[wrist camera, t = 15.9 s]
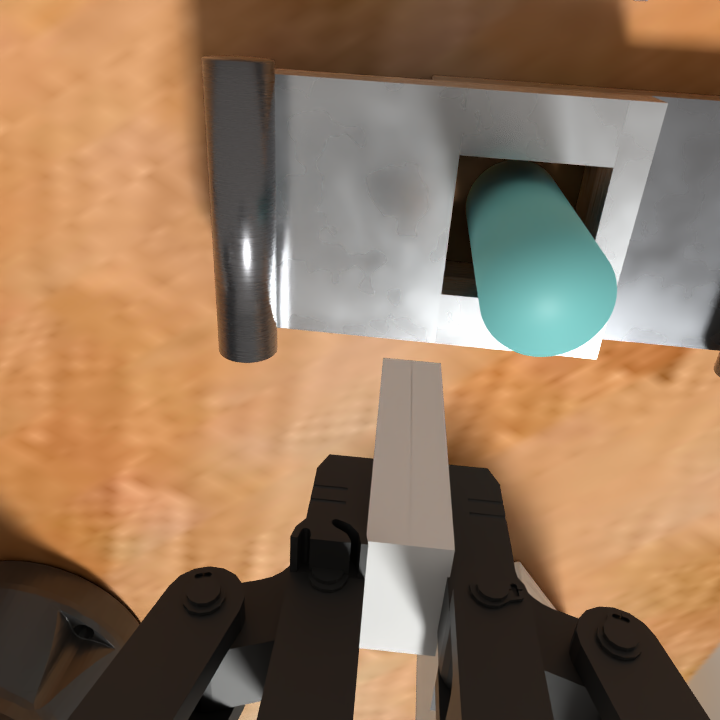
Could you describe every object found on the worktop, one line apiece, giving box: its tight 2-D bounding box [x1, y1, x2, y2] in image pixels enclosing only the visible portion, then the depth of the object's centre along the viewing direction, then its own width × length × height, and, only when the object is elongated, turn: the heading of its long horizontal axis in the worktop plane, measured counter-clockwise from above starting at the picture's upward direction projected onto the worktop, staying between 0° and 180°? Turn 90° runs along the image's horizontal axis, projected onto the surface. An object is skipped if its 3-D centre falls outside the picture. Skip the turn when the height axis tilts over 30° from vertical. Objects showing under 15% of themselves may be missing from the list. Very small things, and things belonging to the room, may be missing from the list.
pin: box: [466, 160, 617, 357], centre depth 23 cm, size 4×4×10 cm
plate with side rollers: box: [201, 55, 720, 377], centre depth 25 cm, size 11×24×6 cm, turn 87°
